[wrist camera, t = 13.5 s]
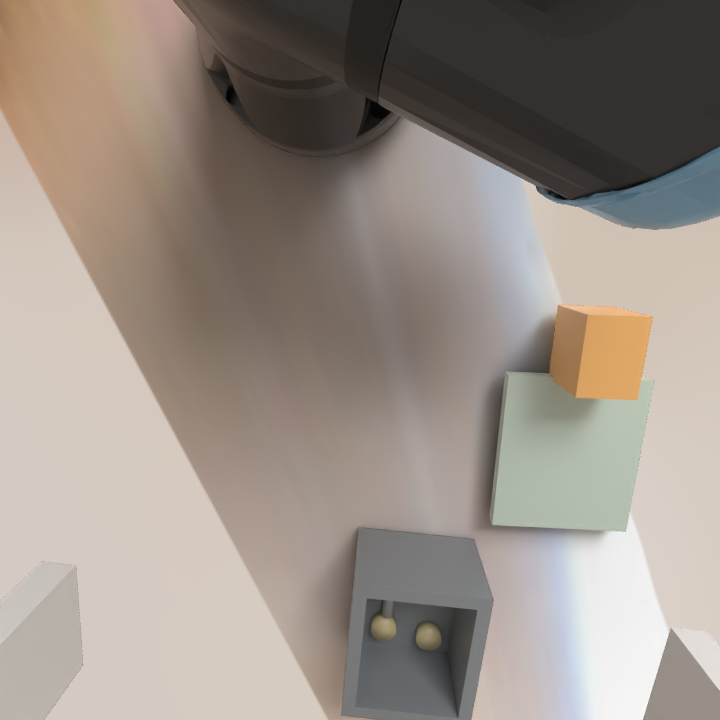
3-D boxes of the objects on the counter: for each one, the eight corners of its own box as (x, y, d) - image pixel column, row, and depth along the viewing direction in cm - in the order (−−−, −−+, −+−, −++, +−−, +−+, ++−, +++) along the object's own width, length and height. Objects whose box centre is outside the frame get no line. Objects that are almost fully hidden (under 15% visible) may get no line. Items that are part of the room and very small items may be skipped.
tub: (358, 527, 40) (354, 585, 33) (474, 539, 40) (493, 599, 33) (347, 641, 43) (341, 715, 36) (454, 652, 42) (469, 729, 36)
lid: (508, 301, 35) (534, 312, 29) (651, 306, 34) (706, 318, 29) (486, 511, 39) (505, 557, 33) (613, 517, 39) (654, 565, 33)
